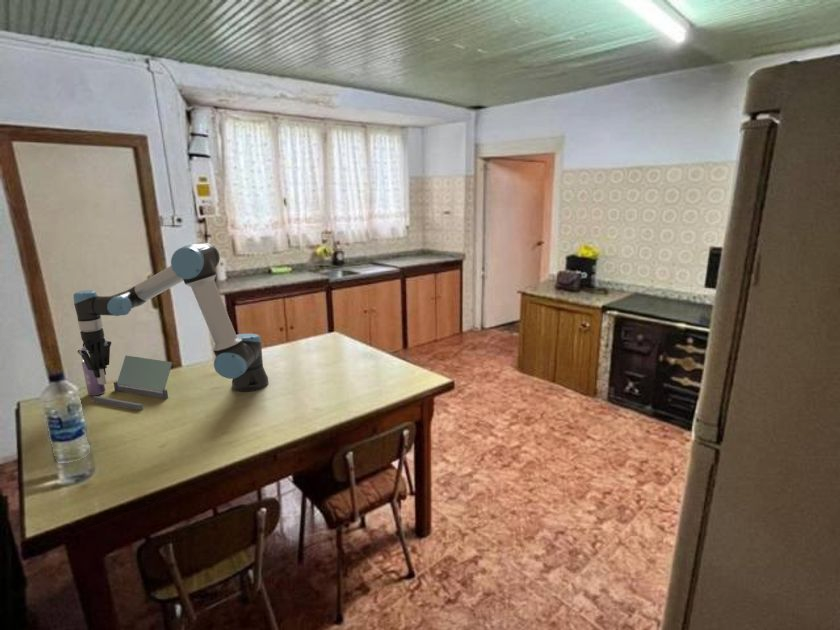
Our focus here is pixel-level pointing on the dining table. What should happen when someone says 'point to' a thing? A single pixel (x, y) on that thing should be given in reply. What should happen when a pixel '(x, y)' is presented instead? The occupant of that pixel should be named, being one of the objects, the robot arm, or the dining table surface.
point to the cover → (144, 373)
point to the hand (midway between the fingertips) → (102, 383)
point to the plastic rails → (130, 390)
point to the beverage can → (92, 382)
